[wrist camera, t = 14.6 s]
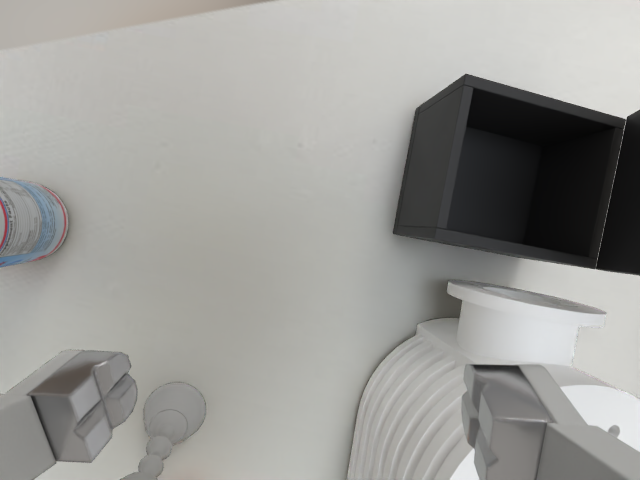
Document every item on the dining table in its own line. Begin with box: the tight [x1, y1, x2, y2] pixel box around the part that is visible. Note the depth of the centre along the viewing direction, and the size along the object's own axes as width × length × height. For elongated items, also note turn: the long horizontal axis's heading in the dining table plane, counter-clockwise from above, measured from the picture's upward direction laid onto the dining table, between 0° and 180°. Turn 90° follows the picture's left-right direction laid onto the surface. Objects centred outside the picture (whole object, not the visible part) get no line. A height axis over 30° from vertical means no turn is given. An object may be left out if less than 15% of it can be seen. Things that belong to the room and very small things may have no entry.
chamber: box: [393, 74, 626, 269], centre depth 29 cm, size 14×12×8 cm
